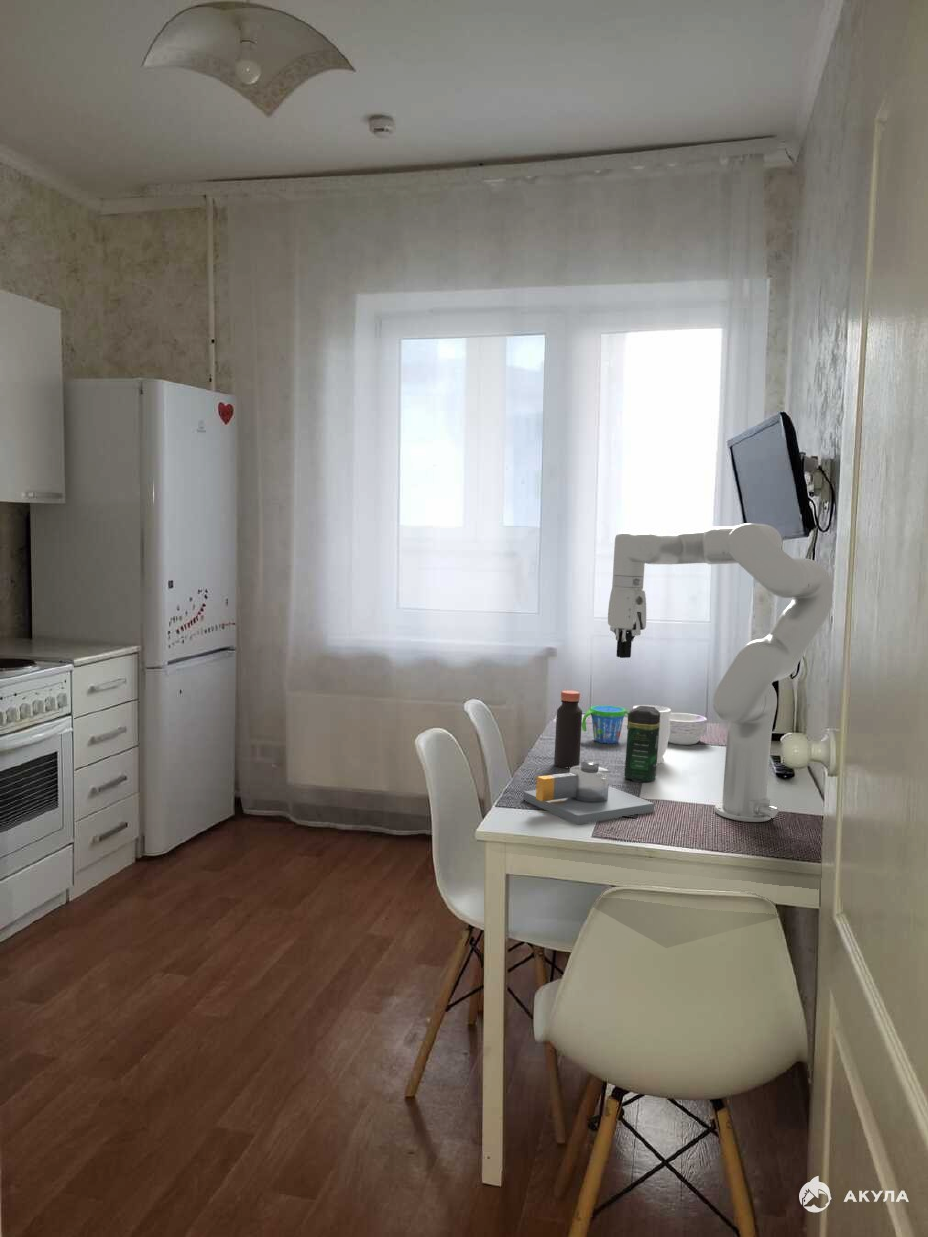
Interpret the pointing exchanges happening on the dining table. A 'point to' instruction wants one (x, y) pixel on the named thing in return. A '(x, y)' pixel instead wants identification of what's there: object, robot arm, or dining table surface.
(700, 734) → the white round hollow piece
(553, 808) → the mounting board
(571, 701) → the bottle
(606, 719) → the snack cup
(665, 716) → the white cup
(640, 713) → the coffee jar
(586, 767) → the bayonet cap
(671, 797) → the dining table surface
